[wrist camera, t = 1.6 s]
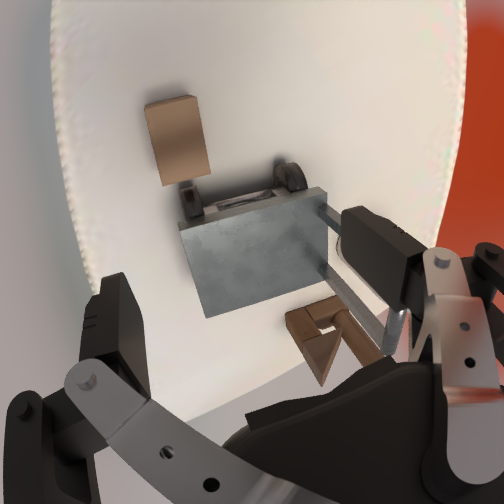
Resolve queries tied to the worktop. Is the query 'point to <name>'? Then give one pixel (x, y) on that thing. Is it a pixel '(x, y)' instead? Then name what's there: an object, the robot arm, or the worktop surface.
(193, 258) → the trolley
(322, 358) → the wooden block
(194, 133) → the block
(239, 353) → the worktop surface
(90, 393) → the robot arm
